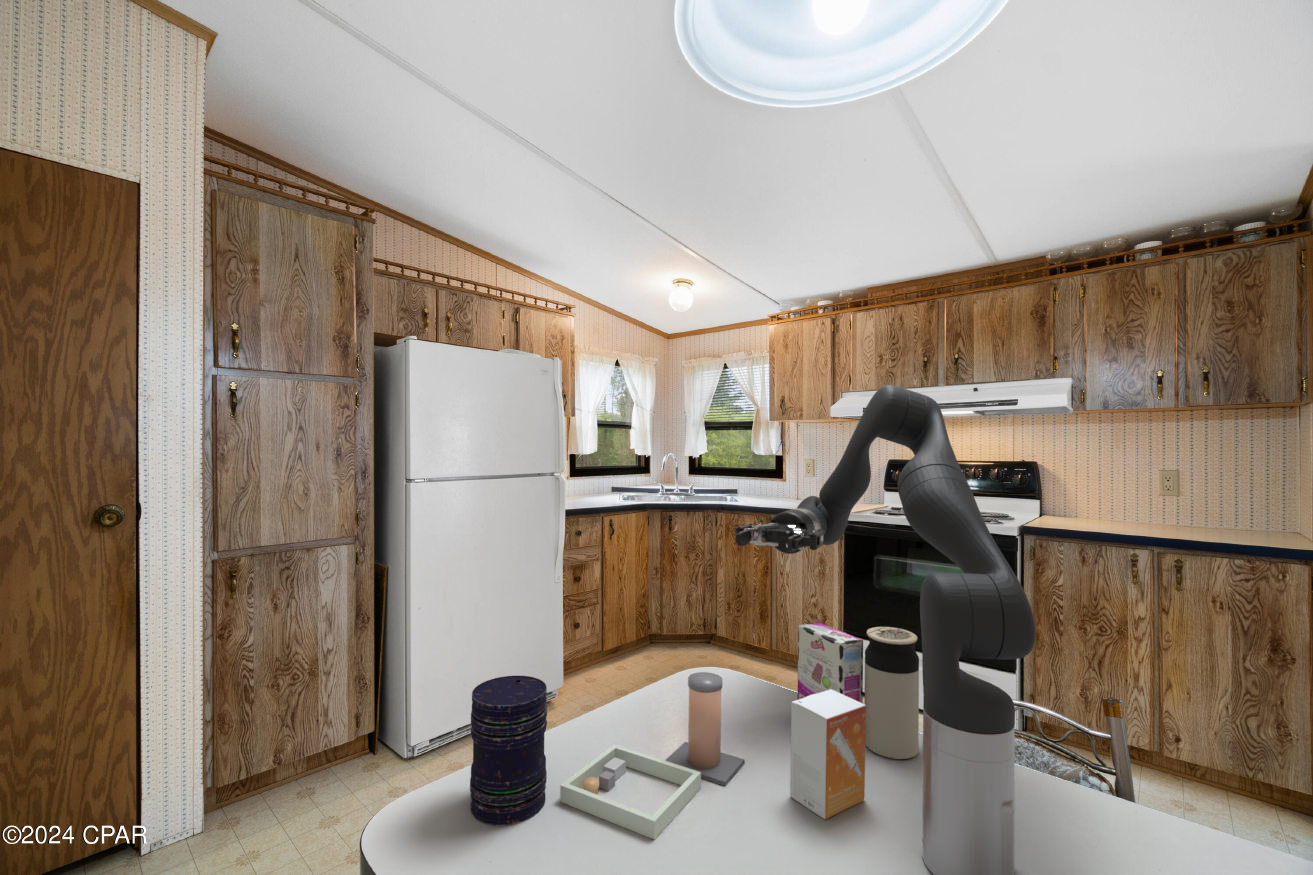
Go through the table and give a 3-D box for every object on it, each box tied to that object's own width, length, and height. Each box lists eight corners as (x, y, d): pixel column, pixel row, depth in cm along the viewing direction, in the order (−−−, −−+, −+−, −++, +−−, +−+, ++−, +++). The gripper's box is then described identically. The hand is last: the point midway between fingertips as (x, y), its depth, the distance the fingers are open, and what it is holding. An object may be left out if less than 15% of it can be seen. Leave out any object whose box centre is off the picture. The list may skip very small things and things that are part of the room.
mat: (744, 763, 90) (744, 759, 90) (725, 785, 84) (725, 781, 84) (685, 745, 95) (685, 741, 95) (663, 765, 89) (663, 761, 89)
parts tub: (700, 787, 83) (701, 772, 83) (654, 839, 72) (654, 821, 72) (614, 758, 91) (614, 744, 91) (560, 801, 80) (560, 784, 80)
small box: (825, 821, 76) (826, 718, 76) (788, 796, 81) (789, 700, 81) (866, 801, 81) (867, 703, 81) (829, 778, 86) (829, 687, 86)
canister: (727, 757, 90) (727, 676, 90) (712, 773, 86) (713, 688, 86) (696, 747, 93) (697, 669, 93) (681, 762, 88) (682, 680, 88)
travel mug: (929, 752, 93) (930, 636, 94) (896, 766, 89) (897, 645, 89) (885, 730, 100) (886, 623, 100) (853, 743, 96) (854, 630, 96)
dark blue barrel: (530, 830, 74) (531, 708, 74) (455, 821, 75) (456, 702, 75) (556, 784, 84) (557, 677, 84) (489, 778, 85) (490, 672, 85)
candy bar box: (864, 741, 97) (865, 639, 97) (840, 747, 95) (841, 643, 95) (818, 712, 107) (819, 620, 107) (795, 717, 105) (796, 623, 105)
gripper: (758, 506, 114) (723, 515, 100) (834, 512, 107) (808, 522, 93) (758, 546, 114) (723, 560, 100) (834, 554, 107) (807, 570, 93)
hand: (764, 542), depth 96 cm, fingers open, 8 cm apart
